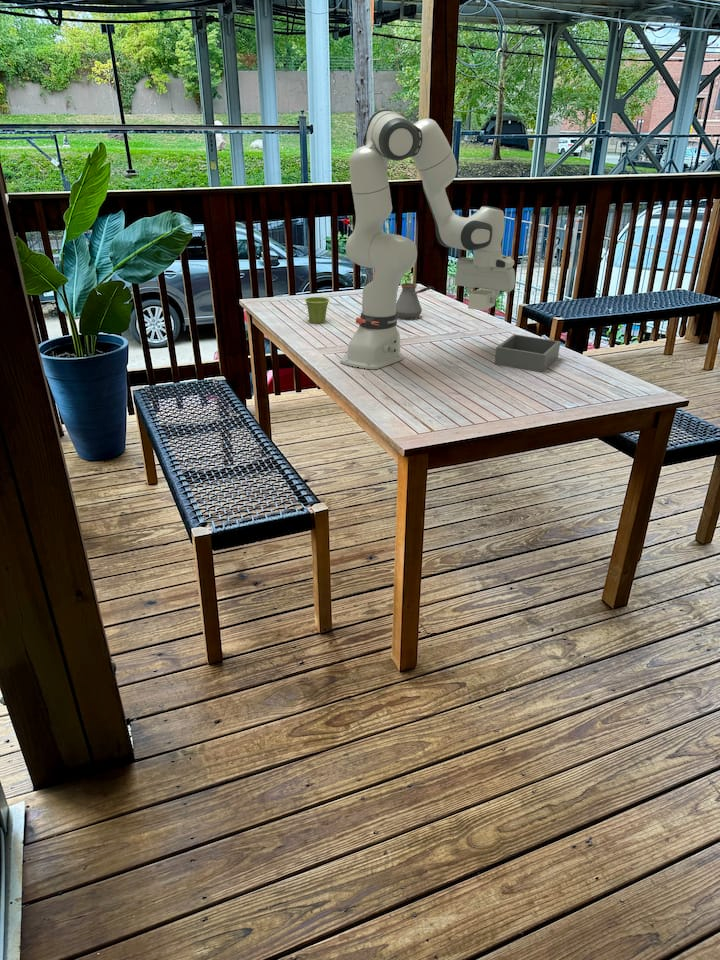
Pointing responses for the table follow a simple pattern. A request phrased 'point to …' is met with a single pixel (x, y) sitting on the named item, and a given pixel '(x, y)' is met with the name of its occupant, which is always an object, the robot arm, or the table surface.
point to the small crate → (481, 299)
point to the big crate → (527, 353)
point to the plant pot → (317, 309)
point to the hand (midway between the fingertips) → (481, 301)
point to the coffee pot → (409, 301)
